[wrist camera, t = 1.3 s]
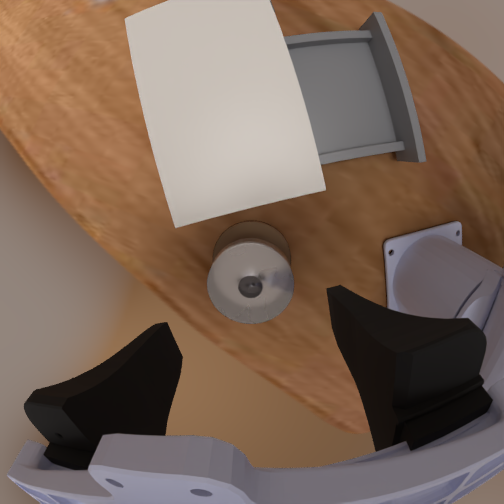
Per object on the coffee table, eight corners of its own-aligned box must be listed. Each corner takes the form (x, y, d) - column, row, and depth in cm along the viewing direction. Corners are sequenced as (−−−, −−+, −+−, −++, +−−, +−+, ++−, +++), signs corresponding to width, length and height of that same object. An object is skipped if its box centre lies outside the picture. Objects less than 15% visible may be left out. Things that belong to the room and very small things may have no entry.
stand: (296, 283, 22) (303, 305, 18) (225, 299, 22) (220, 323, 19) (280, 212, 20) (285, 223, 17) (204, 231, 20) (194, 245, 17)
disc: (298, 302, 18) (301, 314, 17) (223, 319, 19) (221, 330, 17) (281, 229, 17) (283, 235, 15) (200, 249, 17) (195, 257, 16)
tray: (366, 28, 15) (381, 12, 12) (404, 159, 18) (426, 161, 15) (248, 41, 15) (246, 22, 12) (287, 182, 18) (293, 187, 16)
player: (262, 3, 15) (263, -23, 11) (316, 183, 19) (329, 189, 16) (144, 37, 16) (124, 18, 12) (189, 215, 20) (175, 228, 17)
